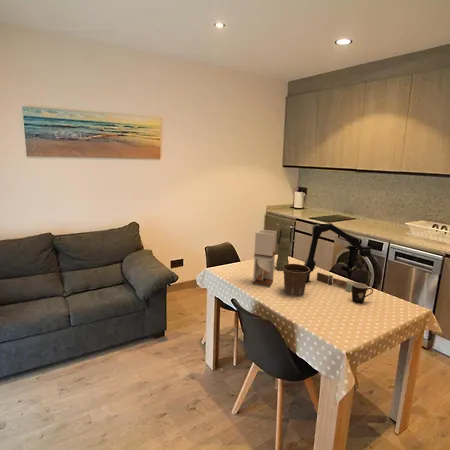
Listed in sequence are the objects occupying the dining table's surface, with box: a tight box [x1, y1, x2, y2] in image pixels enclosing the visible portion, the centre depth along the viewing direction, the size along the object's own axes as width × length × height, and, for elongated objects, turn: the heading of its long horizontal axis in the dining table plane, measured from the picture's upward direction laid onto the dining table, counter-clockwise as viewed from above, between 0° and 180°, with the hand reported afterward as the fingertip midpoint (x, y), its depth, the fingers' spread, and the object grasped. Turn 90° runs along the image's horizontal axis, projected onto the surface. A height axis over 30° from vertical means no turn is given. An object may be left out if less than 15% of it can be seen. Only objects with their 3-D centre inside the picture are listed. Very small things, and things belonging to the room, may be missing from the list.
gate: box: [332, 277, 352, 289], centre depth 215 cm, size 14×2×4 cm, turn 47°
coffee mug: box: [351, 282, 374, 305], centre depth 195 cm, size 12×9×10 cm
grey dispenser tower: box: [252, 229, 278, 288], centre depth 215 cm, size 11×11×35 cm
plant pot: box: [283, 263, 310, 297], centre depth 204 cm, size 16×16×16 cm
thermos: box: [275, 222, 293, 272], centre depth 245 cm, size 9×12×35 cm
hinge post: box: [316, 272, 334, 286], centre depth 224 cm, size 2×11×6 cm, turn 43°
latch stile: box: [345, 282, 352, 293], centre depth 210 cm, size 2×3×6 cm, turn 43°
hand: (350, 278), depth 220 cm, fingers closed
